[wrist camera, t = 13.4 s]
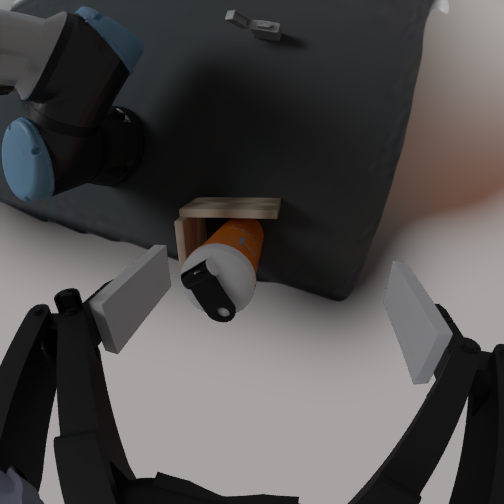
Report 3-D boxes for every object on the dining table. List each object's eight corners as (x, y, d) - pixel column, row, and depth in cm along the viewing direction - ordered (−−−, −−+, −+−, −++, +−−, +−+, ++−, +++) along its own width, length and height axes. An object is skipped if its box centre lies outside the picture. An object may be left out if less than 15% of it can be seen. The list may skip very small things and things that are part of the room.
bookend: (201, 252, 51) (181, 278, 42) (197, 197, 47) (173, 213, 38) (279, 256, 49) (275, 285, 39) (280, 198, 45) (275, 214, 35)
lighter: (281, 33, 34) (278, 13, 26) (279, 41, 34) (275, 23, 27) (238, 27, 34) (226, 8, 27) (236, 35, 35) (224, 18, 28)
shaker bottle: (241, 267, 51) (210, 340, 32) (207, 230, 49) (156, 287, 31) (280, 238, 47) (267, 304, 29) (244, 198, 46) (208, 241, 27)
